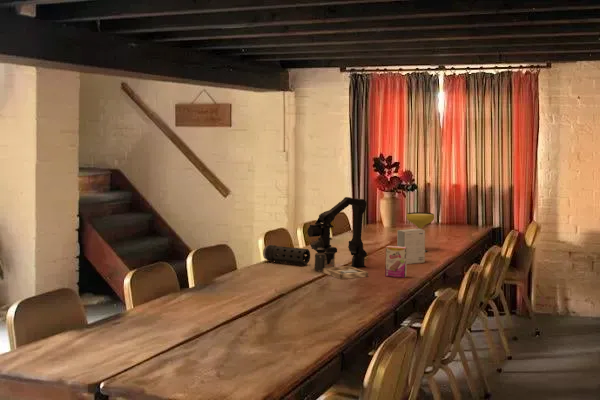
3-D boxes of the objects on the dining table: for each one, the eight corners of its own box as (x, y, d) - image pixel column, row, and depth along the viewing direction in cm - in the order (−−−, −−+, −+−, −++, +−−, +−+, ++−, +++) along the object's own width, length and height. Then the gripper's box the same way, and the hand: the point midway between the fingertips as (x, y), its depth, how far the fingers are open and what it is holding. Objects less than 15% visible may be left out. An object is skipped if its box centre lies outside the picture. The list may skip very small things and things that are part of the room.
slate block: (353, 275, 409) (354, 270, 409) (358, 277, 404) (358, 271, 404) (340, 276, 406) (340, 270, 406) (344, 278, 401) (344, 272, 401)
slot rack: (349, 270, 422) (349, 266, 422) (368, 276, 404) (368, 272, 404) (322, 272, 415) (322, 268, 415) (340, 279, 396) (340, 274, 396)
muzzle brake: (302, 267, 431) (302, 249, 431) (262, 262, 446) (262, 245, 445) (310, 264, 440) (310, 247, 439) (270, 260, 454) (270, 243, 453)
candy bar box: (384, 276, 405) (385, 246, 404) (386, 275, 410) (387, 245, 408) (405, 278, 401) (405, 247, 400) (407, 276, 406) (407, 246, 405)
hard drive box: (417, 260, 457) (418, 228, 455) (425, 262, 450) (426, 230, 449) (396, 262, 450) (397, 229, 449) (403, 264, 444) (404, 231, 442)
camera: (317, 271, 418) (317, 254, 417) (313, 269, 423) (313, 252, 422) (335, 270, 422) (336, 253, 421) (331, 268, 427) (331, 251, 426)
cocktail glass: (401, 249, 502) (402, 212, 500) (426, 248, 506) (427, 212, 504) (412, 253, 484) (413, 215, 482) (437, 252, 489) (438, 215, 486)
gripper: (304, 234, 425) (304, 261, 427) (320, 238, 409) (319, 266, 410) (322, 233, 430) (321, 260, 432) (337, 237, 414) (337, 265, 415)
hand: (324, 263), depth 422 cm, fingers open, 8 cm apart
